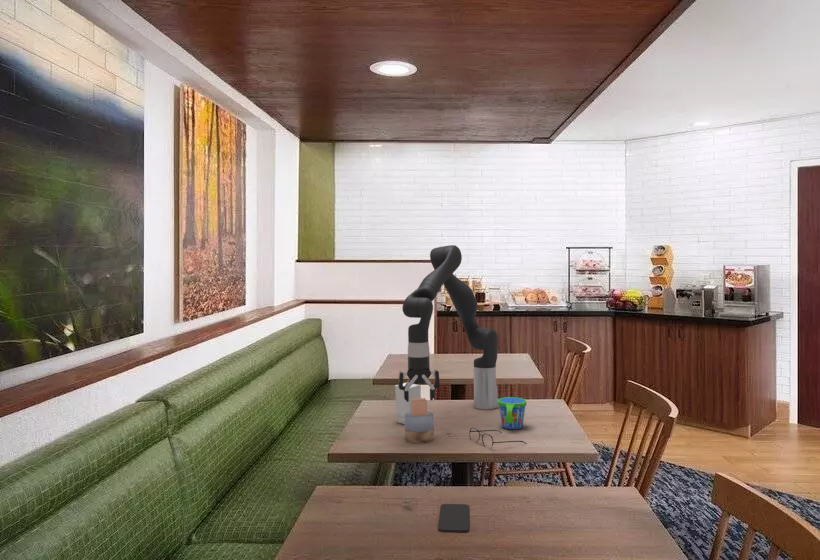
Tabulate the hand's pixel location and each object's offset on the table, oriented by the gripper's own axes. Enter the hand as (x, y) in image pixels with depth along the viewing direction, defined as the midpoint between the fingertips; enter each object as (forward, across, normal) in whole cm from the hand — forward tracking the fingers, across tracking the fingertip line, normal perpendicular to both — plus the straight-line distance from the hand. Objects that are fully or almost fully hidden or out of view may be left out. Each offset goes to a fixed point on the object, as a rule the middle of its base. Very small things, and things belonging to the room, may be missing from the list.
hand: (419, 400), depth 211 cm
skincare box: (+14, +1, -20) cm, 24 cm away
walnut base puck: (+14, 0, +1) cm, 14 cm away
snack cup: (+14, -36, -7) cm, 39 cm away
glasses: (+14, -26, +8) cm, 31 cm away
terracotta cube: (+5, 0, 0) cm, 5 cm away
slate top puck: (+9, 0, +1) cm, 9 cm away
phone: (+14, +2, +64) cm, 66 cm away
